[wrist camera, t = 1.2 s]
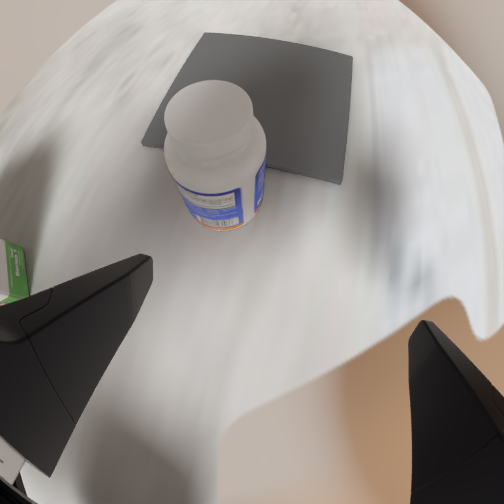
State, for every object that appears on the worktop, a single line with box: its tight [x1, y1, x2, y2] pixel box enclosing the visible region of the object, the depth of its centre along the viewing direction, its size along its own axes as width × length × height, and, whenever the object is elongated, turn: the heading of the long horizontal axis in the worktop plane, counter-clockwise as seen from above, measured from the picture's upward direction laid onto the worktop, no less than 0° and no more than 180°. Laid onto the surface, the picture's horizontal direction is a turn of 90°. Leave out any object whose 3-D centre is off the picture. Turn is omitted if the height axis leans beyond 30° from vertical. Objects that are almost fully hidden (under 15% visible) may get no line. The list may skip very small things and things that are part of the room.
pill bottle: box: [164, 80, 266, 231], centre depth 17 cm, size 5×5×10 cm
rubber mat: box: [141, 33, 353, 184], centre depth 24 cm, size 16×16×1 cm
